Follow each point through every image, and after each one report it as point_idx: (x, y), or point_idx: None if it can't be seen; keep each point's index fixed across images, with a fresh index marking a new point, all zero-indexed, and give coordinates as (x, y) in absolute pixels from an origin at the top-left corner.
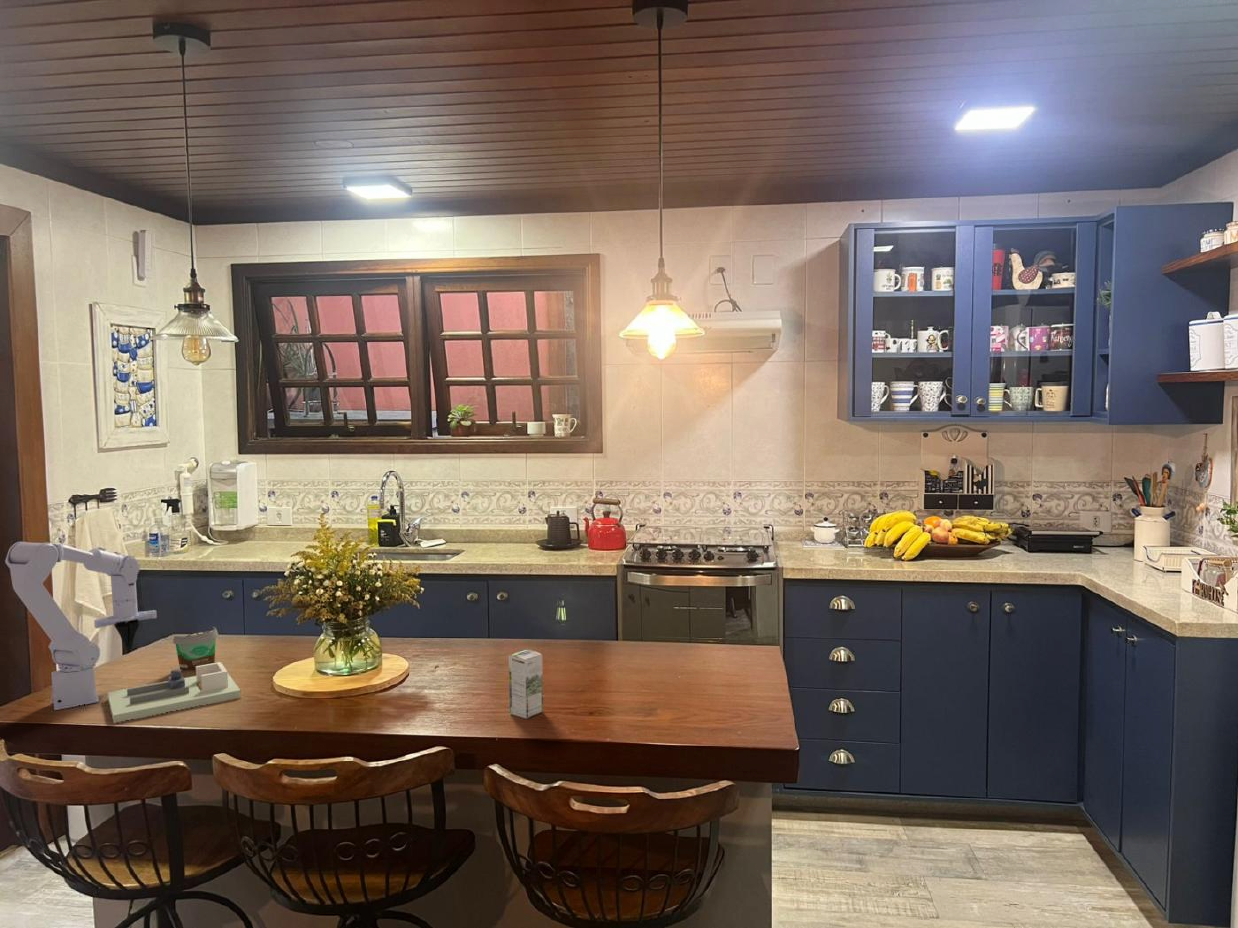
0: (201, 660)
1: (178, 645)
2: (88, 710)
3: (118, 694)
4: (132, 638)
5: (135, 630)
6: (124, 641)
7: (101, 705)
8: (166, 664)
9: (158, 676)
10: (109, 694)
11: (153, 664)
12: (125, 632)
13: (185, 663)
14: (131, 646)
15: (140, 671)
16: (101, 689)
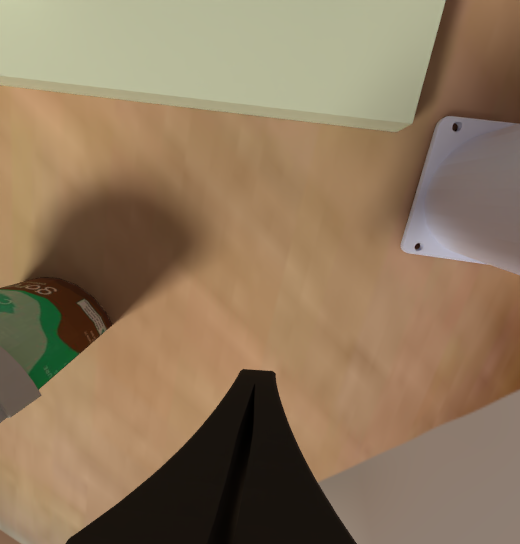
0: (17, 286)
1: (28, 368)
2: (514, 21)
3: (389, 32)
4: (216, 418)
5: (150, 484)
6: (283, 415)
7: (444, 62)
8: (143, 404)
9: (181, 299)
10: (419, 70)
11: (175, 430)
12: (270, 495)
13: (76, 307)
14: (240, 376)
15: (218, 394)
16: (366, 296)
